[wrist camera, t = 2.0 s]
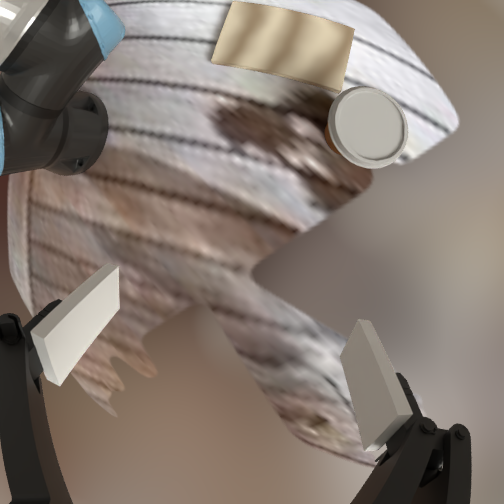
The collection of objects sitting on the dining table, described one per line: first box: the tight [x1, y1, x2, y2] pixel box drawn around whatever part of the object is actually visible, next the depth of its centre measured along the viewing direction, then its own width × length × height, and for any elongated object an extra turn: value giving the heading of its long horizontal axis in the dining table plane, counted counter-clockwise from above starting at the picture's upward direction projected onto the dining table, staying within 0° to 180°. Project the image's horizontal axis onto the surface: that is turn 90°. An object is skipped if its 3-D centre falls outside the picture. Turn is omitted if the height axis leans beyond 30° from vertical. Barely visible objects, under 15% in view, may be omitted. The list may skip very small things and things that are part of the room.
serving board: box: [211, 1, 355, 94], centre depth 32 cm, size 19×12×2 cm, turn 76°
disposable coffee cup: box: [325, 86, 408, 169], centre depth 31 cm, size 10×10×12 cm
